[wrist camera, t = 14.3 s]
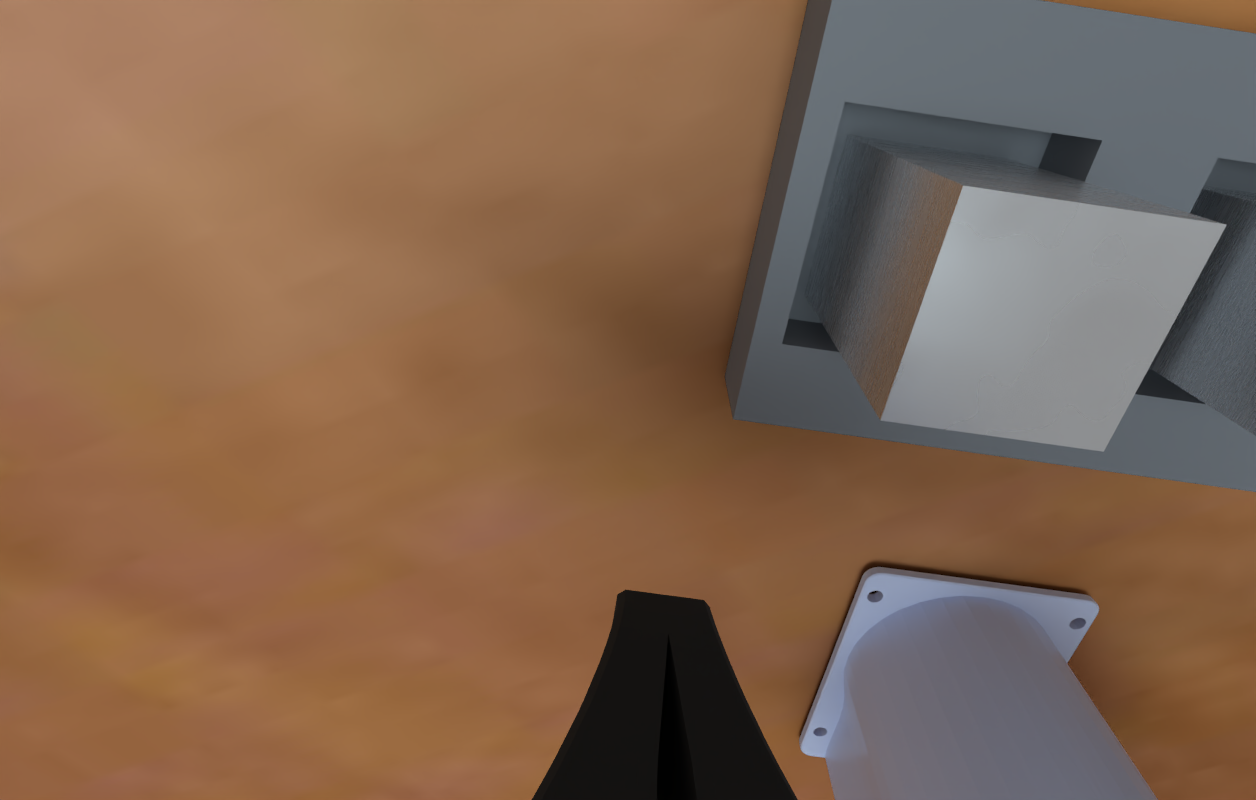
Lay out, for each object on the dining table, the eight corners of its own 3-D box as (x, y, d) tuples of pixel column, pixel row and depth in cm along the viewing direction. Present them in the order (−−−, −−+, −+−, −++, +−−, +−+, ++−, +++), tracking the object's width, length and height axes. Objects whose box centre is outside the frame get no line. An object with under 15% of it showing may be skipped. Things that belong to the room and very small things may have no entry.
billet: (950, 314, 18) (1103, 451, 12) (804, 293, 18) (880, 420, 12) (1009, 159, 16) (1226, 224, 10) (846, 134, 16) (963, 185, 10)
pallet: (1218, 445, 20) (1289, 496, 18) (724, 376, 20) (733, 419, 18) (1449, 80, 16) (1586, 84, 13) (812, -18, 15) (839, -32, 13)
